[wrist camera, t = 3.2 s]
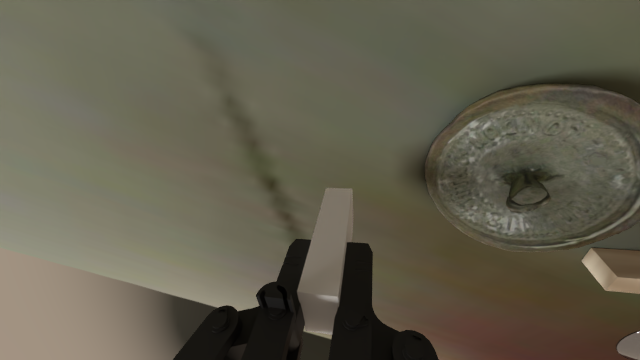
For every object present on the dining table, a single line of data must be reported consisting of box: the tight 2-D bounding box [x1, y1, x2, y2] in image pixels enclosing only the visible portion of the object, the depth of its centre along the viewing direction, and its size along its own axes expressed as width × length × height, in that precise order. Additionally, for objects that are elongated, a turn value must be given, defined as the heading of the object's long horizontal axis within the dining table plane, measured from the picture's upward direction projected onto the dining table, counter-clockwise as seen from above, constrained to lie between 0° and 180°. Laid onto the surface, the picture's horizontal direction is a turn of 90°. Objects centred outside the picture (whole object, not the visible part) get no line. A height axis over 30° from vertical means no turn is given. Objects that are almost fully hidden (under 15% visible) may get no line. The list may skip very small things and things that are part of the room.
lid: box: [425, 83, 640, 252], centre depth 14 cm, size 11×10×5 cm
